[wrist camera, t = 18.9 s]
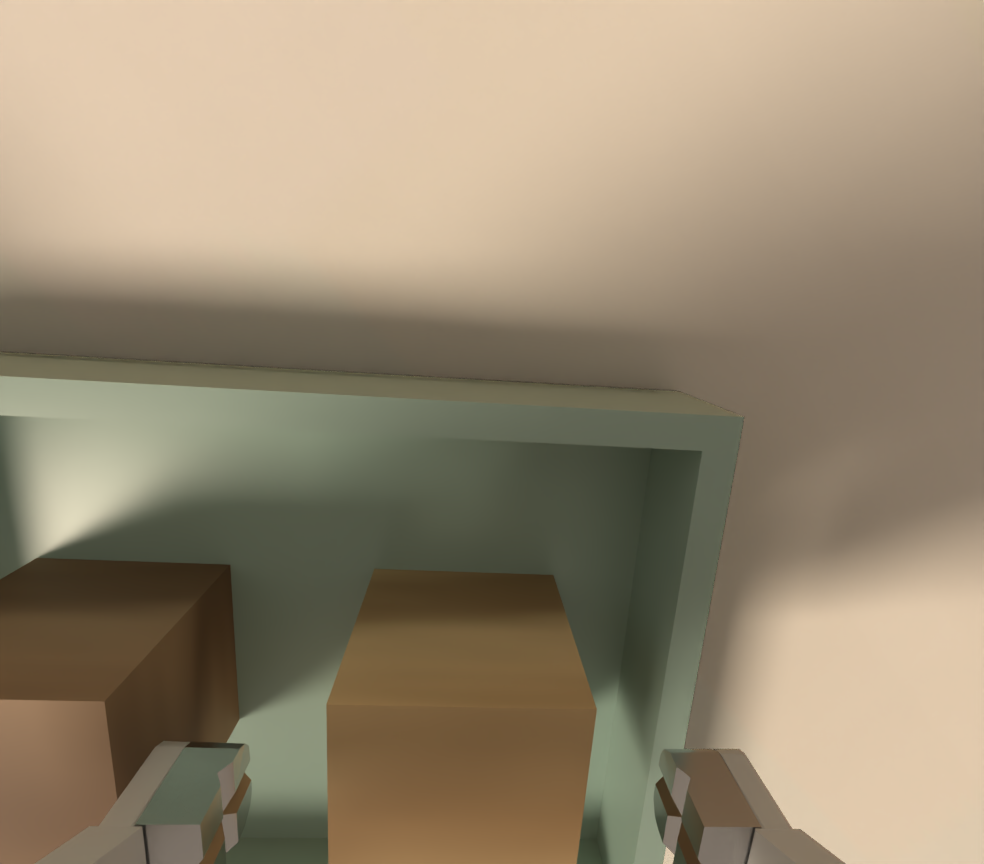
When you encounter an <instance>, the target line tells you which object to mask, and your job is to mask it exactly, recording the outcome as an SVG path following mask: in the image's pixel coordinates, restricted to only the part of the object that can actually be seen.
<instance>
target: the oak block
mask: <svg viewBox="0 0 984 864" xmlns="http://www.w3.org/2000/svg"><path fill="white" fill-rule="evenodd" d="M596 713H597V708H596V705H595V702H594V699H593V696H592V693H591V690H590V687H589V683H588V680H587V677H586V674H585V671H584V668H583V665H582V662H581V659H580V656H579V653H578V649H577V646H576V643H575V640H574V637H573V634H572V631H571V628H570V625H569V622H568V619H567V616H566V612H565V609H564V606H563V603H562V600H561V597H560V594H559V591H558V588H557V585H556V582H555V578H554V575H540V574H511V573H482V572H453V571H424V570H395V569H374V571H373V574H372V577H371V580H370V583H369V585H368V588H367V591H366V594H365V597H364V599H363V602H362V605H361V608H360V611H359V614H358V616H357V619H356V622H355V625H354V628H353V631H352V633H351V636H350V639H349V642H348V645H347V648H346V650H345V653H344V656H343V659H342V662H341V665H340V667H339V670H338V673H337V676H336V679H335V681H334V684H333V687H332V690H331V693H330V696H329V698H328V701H327V704H326V715H327V795H328V864H577V856H578V849H579V841H580V834H581V826H582V819H583V811H584V803H585V796H586V788H587V781H588V773H589V766H590V758H591V751H592V743H593V735H594V728H595V720H596Z"/></svg>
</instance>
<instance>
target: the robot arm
mask: <svg viewBox="0 0 984 864" xmlns="http://www.w3.org/2000/svg"><path fill="white" fill-rule="evenodd" d="M249 762H250V752H249V745H247V744H243V743H218V742H194V741H191V742H179V741H163V742H161V743H160V744H159V745H157V746H156V747H155V748H154V749H153V750H152V752H151V753H150V755H149V756H148V757H147V759H146V760H145V762H144V763H143V764H142V766H141V767H140V769H139V770H138V772H137V773H136V774H135V776H134V777H133V779H132V780H131V781H130V783H129V784H128V786H127V787H126V788H125V790H124V791H123V793H122V794H121V795H120V797H119V798H118V800H117V801H116V802H115V804H114V805H113V807H112V808H111V809H110V811H109V812H108V814H107V815H106V816H105V818H104V819H103V821H102V822H101V823H100V825H99V826H89V827H88V828H86V829H85V830H83V831H82V832H80V833H79V834H77V835H76V836H74V837H73V838H72V839H70V840H69V841H67V842H66V843H64V844H63V845H61V846H60V847H58V848H57V849H55V850H54V851H53V852H51V853H50V854H48V855H47V856H45V857H44V858H42V859H41V860H39V861H38V862H36V863H35V864H226V853H227V852H228V851H229V850H230V849H231V848H232V847H233V846H234V845H236V844H237V843H238V842H239V839H240V837H241V834H242V832H243V829H244V827H245V824H246V820H247V816H248V813H249V809H250V804H251V795H252V782H251V779H250V778H249V777H248V776H247V775H246V773H245V771H246V768H247V766H248V764H249ZM659 767H660V770H661V772H662V775H663V777H662V778H661V779H660V780H659V781H658V782H657V783H656V784H655V790H654V798H653V800H654V813H655V819H656V823H657V827H658V831H659V834H660V836H661V839H662V842H663V844H664V845H665V846H666V847H667V848H668V849H669V850H670V851H671V852H672V853H673V854H675V856H674V862H673V864H845V863H844V862H843V861H841V860H840V859H839V858H837V857H836V856H835V855H834V854H832V853H831V852H830V851H828V850H827V849H826V848H824V847H823V846H822V845H820V844H819V843H818V842H817V841H815V840H814V839H813V838H811V837H810V836H809V835H807V834H806V833H805V832H803V831H802V830H801V829H792V827H791V826H790V824H789V823H788V821H787V819H786V818H785V816H784V815H783V813H782V812H781V810H780V808H779V807H778V805H777V804H776V802H775V800H774V799H773V797H772V796H771V794H770V793H769V791H768V789H767V788H766V786H765V785H764V783H763V782H762V780H761V778H760V777H759V775H758V774H757V772H756V770H755V769H754V767H753V766H752V764H751V763H750V761H749V759H748V758H747V756H746V755H745V753H744V752H742V751H741V750H740V749H713V750H712V749H664V750H663V751H662V753H661V754H660V760H659Z"/></svg>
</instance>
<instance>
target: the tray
mask: <svg viewBox="0 0 984 864" xmlns="http://www.w3.org/2000/svg"><path fill="white" fill-rule="evenodd" d="M743 422H744V417H743V416H740V415H738V414H735V413H733V412H730V411H728V410H725V409H723V408H720V407H718V406H715V405H712V404H710V403H707V402H705V401H702V400H700V399H697V398H695V397H692V396H690V395H687V394H685V393H682V392H680V391H668V390H651V389H633V388H616V387H599V386H582V385H564V384H547V383H530V382H513V381H496V380H478V379H461V378H444V377H427V376H409V375H392V374H375V373H358V372H340V371H323V370H306V369H289V368H271V367H254V366H237V365H220V364H202V363H185V362H168V361H151V360H133V359H116V358H99V357H82V356H64V355H47V354H30V353H13V352H0V579H2V578H3V577H5V576H7V575H8V574H10V573H12V572H14V571H15V570H17V569H19V568H21V567H22V566H24V565H26V564H27V563H29V562H31V561H33V560H34V559H36V558H54V559H83V560H112V561H141V562H170V563H199V564H227V565H230V568H231V585H232V602H233V618H234V635H235V652H236V669H237V686H238V703H239V721H238V723H237V725H236V726H235V728H234V730H233V732H232V734H231V735H230V737H229V739H228V741H227V743H243V744H247V745H249V752H250V762H249V764H248V766H247V768H246V771H245V773H246V775H247V776H248V777H249V778H250V779H251V782H252V795H251V804H250V809H249V813H248V816H247V820H246V824H245V827H244V829H243V832H242V834H241V837H240V839H239V842H238V843H237V844H236V845H234V846H233V847H232V848H231V849H230V850H229V851H228V852H227V853H226V864H328V795H327V715H326V704H327V701H328V698H329V696H330V693H331V690H332V687H333V684H334V681H335V679H336V676H337V673H338V670H339V667H340V665H341V662H342V659H343V656H344V653H345V650H346V648H347V645H348V642H349V639H350V636H351V633H352V631H353V628H354V625H355V622H356V619H357V616H358V614H359V611H360V608H361V605H362V602H363V599H364V597H365V594H366V591H367V588H368V585H369V583H370V580H371V577H372V574H373V571H374V569H395V570H424V571H453V572H482V573H511V574H540V575H554V578H555V582H556V585H557V588H558V591H559V594H560V597H561V600H562V603H563V606H564V609H565V612H566V616H567V619H568V622H569V625H570V628H571V631H572V634H573V637H574V640H575V643H576V646H577V649H578V653H579V656H580V659H581V662H582V665H583V668H584V671H585V674H586V677H587V680H588V683H589V687H590V690H591V693H592V696H593V699H594V702H595V705H596V708H597V713H596V720H595V728H594V735H593V743H592V751H591V758H590V766H589V773H588V781H587V788H586V796H585V803H584V811H583V819H582V826H581V834H580V841H579V849H578V856H577V864H663V860H664V854H665V849H666V846H665V845H664V844H663V842H662V839H661V836H660V834H659V831H658V827H657V823H656V819H655V813H654V800H653V798H654V790H655V784H656V783H657V782H658V781H659V780H660V779H661V778H662V777H663V775H662V772H661V770H660V767H659V760H660V754H661V753H662V751H663V750H664V749H684V745H685V740H686V734H687V729H688V723H689V718H690V712H691V707H692V701H693V696H694V690H695V685H696V679H697V674H698V668H699V663H700V657H701V652H702V646H703V641H704V636H705V630H706V625H707V619H708V614H709V608H710V603H711V597H712V592H713V586H714V581H715V575H716V570H717V564H718V559H719V553H720V548H721V543H722V537H723V532H724V526H725V521H726V515H727V510H728V504H729V499H730V493H731V488H732V482H733V477H734V471H735V466H736V460H737V455H738V450H739V444H740V439H741V433H742V428H743Z"/></svg>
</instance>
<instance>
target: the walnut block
mask: <svg viewBox="0 0 984 864" xmlns="http://www.w3.org/2000/svg"><path fill="white" fill-rule="evenodd" d="M238 721H239V703H238V686H237V669H236V652H235V635H234V618H233V602H232V585H231V568H230V565H227V564H199V563H170V562H141V561H112V560H83V559H54V558H36V559H34V560H33V561H31V562H29V563H27V564H26V565H24V566H22V567H21V568H19V569H17V570H15V571H14V572H12V573H10V574H8V575H7V576H5V577H3V578H2V579H0V864H35V863H36V862H38V861H39V860H41V859H42V858H44V857H45V856H47V855H48V854H50V853H51V852H53V851H54V850H55V849H57V848H58V847H60V846H61V845H63V844H64V843H66V842H67V841H69V840H70V839H72V838H73V837H74V836H76V835H77V834H79V833H80V832H82V831H83V830H85V829H86V828H88V827H89V826H99V825H100V823H101V822H102V821H103V819H104V818H105V816H106V815H107V814H108V812H109V811H110V809H111V808H112V807H113V805H114V804H115V802H116V801H117V800H118V798H119V797H120V795H121V794H122V793H123V791H124V790H125V788H126V787H127V786H128V784H129V783H130V781H131V780H132V779H133V777H134V776H135V774H136V773H137V772H138V770H139V769H140V767H141V766H142V764H143V763H144V762H145V760H146V759H147V757H148V756H149V755H150V753H151V752H152V750H153V749H154V748H155V747H156V746H157V745H159V744H160V743H161V742H163V741H179V742H191V741H194V742H218V743H227V741H228V739H229V737H230V735H231V734H232V732H233V730H234V728H235V726H236V725H237V723H238Z"/></svg>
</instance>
